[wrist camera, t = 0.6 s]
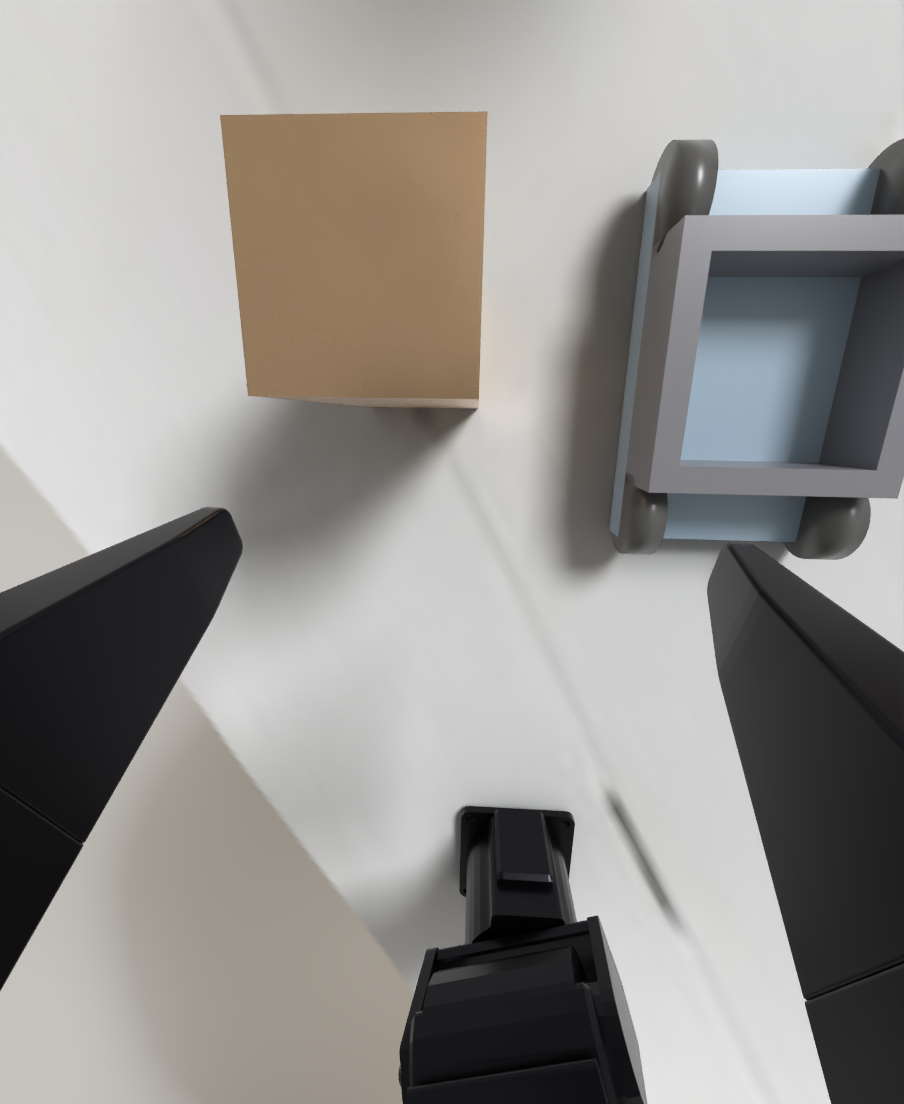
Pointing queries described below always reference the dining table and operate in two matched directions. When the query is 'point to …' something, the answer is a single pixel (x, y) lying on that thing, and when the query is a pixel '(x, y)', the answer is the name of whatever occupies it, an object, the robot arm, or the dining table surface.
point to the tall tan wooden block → (359, 255)
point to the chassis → (764, 355)
